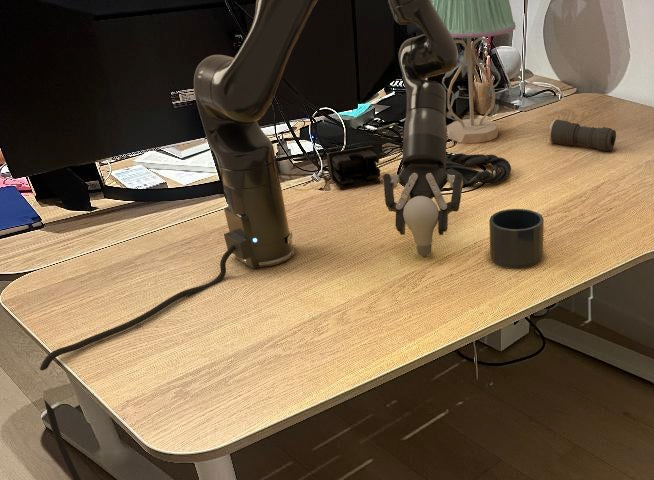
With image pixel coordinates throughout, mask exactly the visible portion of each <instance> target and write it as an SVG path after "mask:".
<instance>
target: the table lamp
mask: <svg viewBox="0 0 654 480" xmlns="http://www.w3.org/2000/svg"><path fill="white" fill-rule="evenodd" d="M431 2H432V4H433V6H434V8H435V9H436V11H437V13H438V15H439V16H440V18H441V20H442V21H443V23H444V24H445V26H446V27H447V29H448V30H449V32H450V34H451V35H452V37H453V39H454V41H455V43H456V45H462V47H464V49H461V51H460V52H458V61H457V64H456V66H455V68H454V69H453V70H452V71H450V72H447V73H444V74H445V75H444V76H443V78H442V81H441V85H442V86H443V87H444V89H445V91H447V93H446V106H447V109H448V111H446V118H447V119H451V120H452V122H451V123H449V124H447V125H446V129H447V139H449V140H452V141H455V142H458V143H461V144H479V143H484V142H490V141H492V140H494V139H496V138H497V137H498V135H499V124H497V123H496V122H494V121H492V120H488V119H487V118H492V117H493V116H494V115H495V113H496V112H498V111H499V108H500V107H499V103H497V104H496V95H497V94H496V91H495V88H496V87H497V86H498V85H499V83H500V81H501V79H502V78H501V74H500V72H499V71H498V69H497V67H496V66H494V65H489V64H487V63H485V61H484V60H482V59H481V58H480V57H477V55H476V54H477V48H475V46H476V44H477V43H478V42H480V41H482V42H483V43H486V49H487V50H489V48H490V47H489V46H490V42H489V41H488V39H487V37H489V38H490V37H497V36H501V35H505V34H508V33H511V32H514V31H515V29H516V27H517V26H516V22H515V21H514V16H513V13H512V12H513V11H512V7H511V3H510V0H431ZM461 39H466V42H465V41H464V40H461ZM472 39H474V41H472ZM481 64H482V65H485V66H487V67H488V68H489V69H490V71H492V72H493V73H496V74H497V76H498V78H497V79H498V80H497V82H496V84H494V82H493V79H492V78H491V77H490V76H489V74H488V73H487V71H486V70H485V69H484V67H483V66H482V65H481ZM476 66H477V67H478V68H479V70H480V71H481V72H482V73H483V75H484V76H485V78H486V79H487V80H488V82H489V85H490V89H488V88H487V87H486V86H484V91H485V93H486V94H487V95H488V96H490V98H491V101H490V107H489V109H487V111H486V113H484V115H483V116H482V117H481V118H475V109H474V80H473V79H474V78H473V76H475V77H478V75H477V69H476ZM455 70H456V72H455V74H454V71H455ZM460 73H461V77H462V78H464V77H465V76H466V74H467V73H468V74H467V76H468V78H467V79H468V94H469V95H468V100H469V118H466V119H461V118H460V117H458V116H457V115H456V114H455V112H454V111H453V104H454V102H455V100H456V99H458V97H459V95H460V89H458V90H457V91H456V92H455V93H454V91H453V90H452V89H453V85H454V83H455V82H456V81H457V78H458V76H459V75H460ZM453 74H454V75H453ZM452 75H453V77H452V78H451V81H450V82H449V86H448V88H447V86H446V84H445V80H446V79H447V78H449V77H451V76H452ZM451 94H452V95H451ZM450 99H451V101H450ZM492 110H493V112H492V113H491V111H492ZM490 113H491V114H490Z"/></svg>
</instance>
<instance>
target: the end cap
mask: <svg viewBox="0 0 654 480" xmlns="http://www.w3.org/2000/svg"><path fill="white" fill-rule="evenodd" d="M326 164H327V169H328V173H329V176H330V177H331V180H332V182H334V183H335V185H336V187H338V189H339V190H343V191H344V190H348V189H354V188H359V187H364V186H369V185H376V184H380V183H381V179H380V176H381V172H382V170H381V168H380V167H379V166H377V164H380V159H379V156H378V155H377V154H376V150H375V146H373V145H367V146H361V147H355V148H350V149H349V148H348V149H342V150H337V151H331V152H327V154H326Z"/></svg>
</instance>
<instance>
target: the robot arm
mask: <svg viewBox="0 0 654 480" xmlns="http://www.w3.org/2000/svg"><path fill="white" fill-rule="evenodd" d="M318 1H319V0H256V1H255V13H254V17H253V21H252V25H251V26H250V29H249V32H248V34H247V35H246V37H245V39H244V41H243V43H242V44H241V46H240V48H239V50H238V51H237V53H236V54H235V56H234V57H233V56H229V55H223V54H212V55H209V56H207V57H205V58H204V59H203V60H201V62H199V63H198V65H197V67H196V69H195V72H194V75H193V92H194V97H195V98H194V99H195V102H196V105H197V110H198V114H199V117H200V121H201V123H202V127H203V131H204V134H205V137H206V140H207V143H208V145H209V147H210V149H211V150H212V151H213V153H214V156H215V159H216V161H217V164H218V169H219V174H220V178H221V181H222V186H223V191H224V194H225V199H226V204H227V207H224V208H223V211H224V215H225V219H226V224H227V228H228V232H225V233H223V237H224V240H225V244H226V248H227V250H225V252H224V254H223V255H222V257H221V259H220V263H219V268H220V269H219V270H220V272H219V274H218V275H217V276H216V278H214V279H212V280H211V281H210V282H208V283H206V284H203V285H199V286H195V287H191V288H187V289H184V290H183V291H179V292H177V293H176V294H174V295H172V296H170V297H169V298H167V299H165V300H164V301H162V302H161V303H158V304H157V305H156V306H154V307H153V308H151V309H149V310H148V311H146V312H145V313H143V314H141V315H139V316H136V317H135V318H133V319H131V320H129V321H126V322H124V323H122V324H119V325H117V326H115V327H113V328H109V329H107V330H104V331H102V332H100V333H97V334H94V335H92V336H90V337H87V338H84V339H82V340H80V341H77V342H76V343H73V344H70V345H65V346H62V347H60V348H57V349H55V350H53V351H51V352H50V353H49V354H48V355H47V356H46V357H45V358H44V359H43V361H42V362H41V364H40V367H39V371H45V370H47V369H48V368H49V366H50V365H51V363H52V362H53V361H54V360H55V359H56V358H57V357H59V356H62V355H65V354H68V353H71V352H75V351H77V350H79V349H82V348H84V347H86V346H89V345H91V344H93V343H96V342H98V341H101V340H103V339H105V338H108V337H110V336H113V335H116V334H118V333H121V332H123V331H126V330H128V329H131V328H133V327H134V326H136V325H138V324H141V323H142V322H144V321H146V320H148V319H150V318H151V317H153V316H155V315H156V314H158V313H159V312H161V311H162V310H164V309H165V308H168V307H169V306H170V305H171V304H173V303H175V302H177V301H179V300H181V299H183V298H184V297H187V296H190V295H194V294H196V293H199V292H202V291H204V290H207V289H208V288H211V287H212V286H215V285H217V284H218V283H220V282H221V281H223V279H224V278H225V276H226V275H227V266H226V264H227V261H228V259H229V258H230V256H231V255H232V254H233V255H234V256H235V259H236V260H238V261H239V262H241V263H242V264H244V265H246V266H248V267H249V268H251V269H253V270H255V269H258V268H262V267H263V268H264V267H272V266H276V265H280V264H282V263H286V261H288V260H290V259H291V258H292V257H293V256H294V254H295V249H294V245H293V241H292V239H293V237H294V235H293V231H292V230H291V231H290V225H289V220H288V215H287V210H286V206H285V200H284V195H283V190H282V185H281V180H280V179H281V178H280V174H279V170H278V163H277V159H276V153H275V148H274V144H273V143H272V141H271V139H270V138H269V136H267V134H265V132H264V131H263V130H262V128H261V126H260V125H259V123H258V121H259V120H261V119H262V118H263V117H264V116H265V114H266V113H267V112H268V110H269V109H270V106H271V104H272V102H273V101H274V98H275V95H276V93H277V90H278V88H279V84H280V82H281V79H282V77H283V74H284V72H285V68H286V66H287V64H288V61H289V59H290V57H291V54H292V52H293V50H294V47H295V46H296V43H297V41H299V38H300V36H301V33H302V31H304V28H305V26H306V23H307V21H308V19H309V17H310V15H311V13H312V12H313V10H314V8H315V6H316V4H317V2H318ZM386 1H387V3H388V7H389V8H390V12H391V15H392V18H393V20H394V21H395V22H396V23H397V24H399V25H405V26H406V25H413V26H417V27H418V28H419V30H420V31H422V32H423V34H420V35H417V36H414V37H411V38H407V39H406V40H404V41H403V43H402V44H401V45H400V48H399V51H398V64H399V68H400V72H401V75H402V81H403V85H404V89H405V90H404V91H405V96H406V100H405V101H406V102H405V119H404V125H403V135H402V136H403V137H402V139H403V140H402V159H401V160H402V161H401V163H402V164H401V169H400V171H399V174H394V175H390V174H389V173H384V174H383V175H382V179H383V180H382V181H383V190H384V191H383V192H384V202H385V205H386V206H385V207H386V208H387V210H388V211H389V212H394V213H395V223H394V226H395V229H396V231H397V232H398V233H399V234H400V235H401V236H406V223H405V220H404V217H403V211H404V207H405V205H406V203H407V202H408V201H409V200H410V199H412V198H414V197H416V196H425V197H428V198H430V199H432V200H433V198H434V201H435V202H436V205H437V207H438V209H439V217H438V222H437V232H438V235H439V236H444V233H447V231H448V225H449V214H450V213H452V212H454V213H457V212H458V211H459V210H460V205H461V199H462V193H463V187H464V186H463V179H462V175H461V174H456V175H447V173H446V154H447V144H448V134H447V119H446V118H447V92H446V91H447V90H446V89H445V87H444V86H443V84H442V83H439V82H438V81H435V80H431V79H429V78H432V77H437V76H440V75H444V74H446V73H447V72H450V71H452V70H453V69H454V68H455V67H456V64H457V62H458V55H459V50H458V46H457V44H456V43H455V38H453V37H452V35H451V34H450V32H449V30H448V29H447V27H446V26H445V24H444V23H443V21H442V20H441V18H440V16H439V15H438V13H437V11H436V9H435V8H434V6H433V4H432V2H431V0H386ZM399 183H400V184H401V185H402V186H403V190H402V191H401V194H400V197H399V198H398V201H397V202H396V201H395V193H394V190H395V189H396V188H397V186H398V184H399ZM447 183H448V184H449V186H450V188H451V189H452V192H451V199H450V201H449V202H446V200H445V199H444V196H443V193H442V192H441V191H442V190H443V189H444V187H445V186H446V185H447ZM43 401H44V406H45V411H46V414H47V417H48V422H49V426H50V429H51V431H52V434H53V438H54V440H55V442H56V445H57V448H58V450H59V453H60V454H61V457H62V460H63V462H64V463H65V467H66V468H67V470H68V472H69V474H70V476H71V478H72V480H82V479H81V477H80V475H79V473H78V471H77V468H76V466H75V464H74V463H73V461H72V459H71V456H70V454H69V452H68V450H67V447H66V444H65V442H64V440H63V436H62V434H61V431H60V428H59V425H58V421H57V417H56V413H55V409H53V407H52V406H51V405H50V404H49V403H48V402H47V401H46V400H45V398H43Z"/></svg>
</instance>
